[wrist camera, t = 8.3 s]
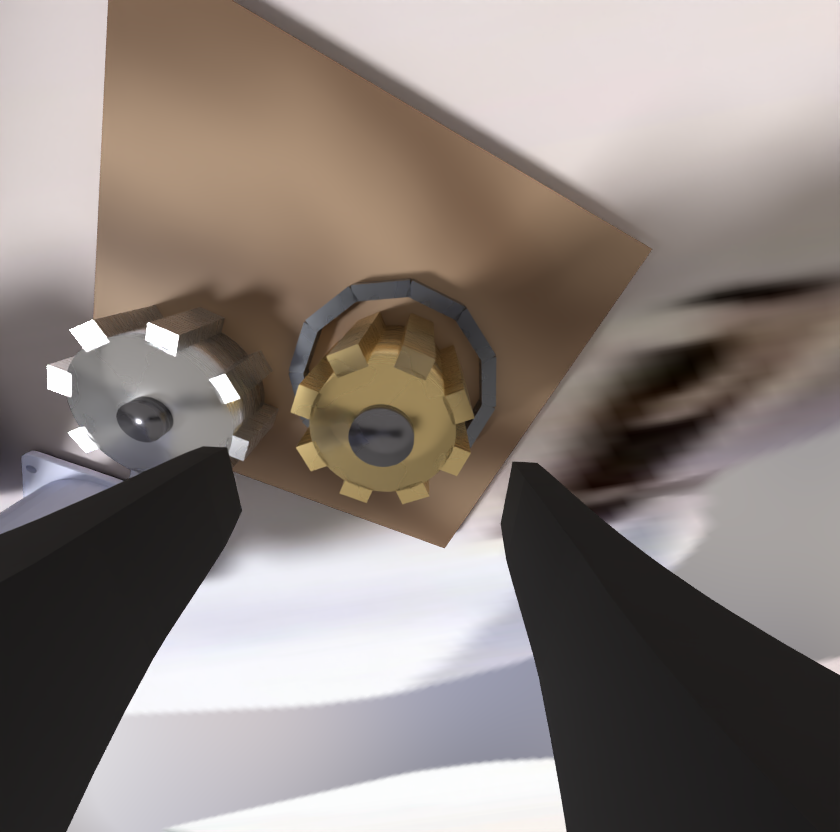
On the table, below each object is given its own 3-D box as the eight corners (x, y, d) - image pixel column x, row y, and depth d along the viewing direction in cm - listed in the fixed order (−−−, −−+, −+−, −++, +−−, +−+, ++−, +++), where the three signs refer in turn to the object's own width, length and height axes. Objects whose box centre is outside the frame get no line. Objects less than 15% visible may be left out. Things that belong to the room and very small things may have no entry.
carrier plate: (443, 535, 21) (444, 548, 20) (105, 410, 18) (88, 418, 17) (638, 248, 14) (652, 248, 13) (138, -46, 11) (111, -71, 10)
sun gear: (257, 474, 18) (220, 524, 15) (108, 419, 17) (33, 461, 14) (297, 349, 15) (261, 379, 12) (120, 272, 14) (27, 282, 11)
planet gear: (428, 450, 17) (427, 532, 12) (315, 406, 16) (267, 477, 11) (484, 345, 15) (510, 396, 10) (356, 287, 14) (317, 312, 9)
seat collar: (439, 487, 18) (439, 497, 17) (276, 423, 17) (269, 431, 16) (531, 337, 15) (536, 342, 14) (335, 239, 13) (329, 239, 12)
